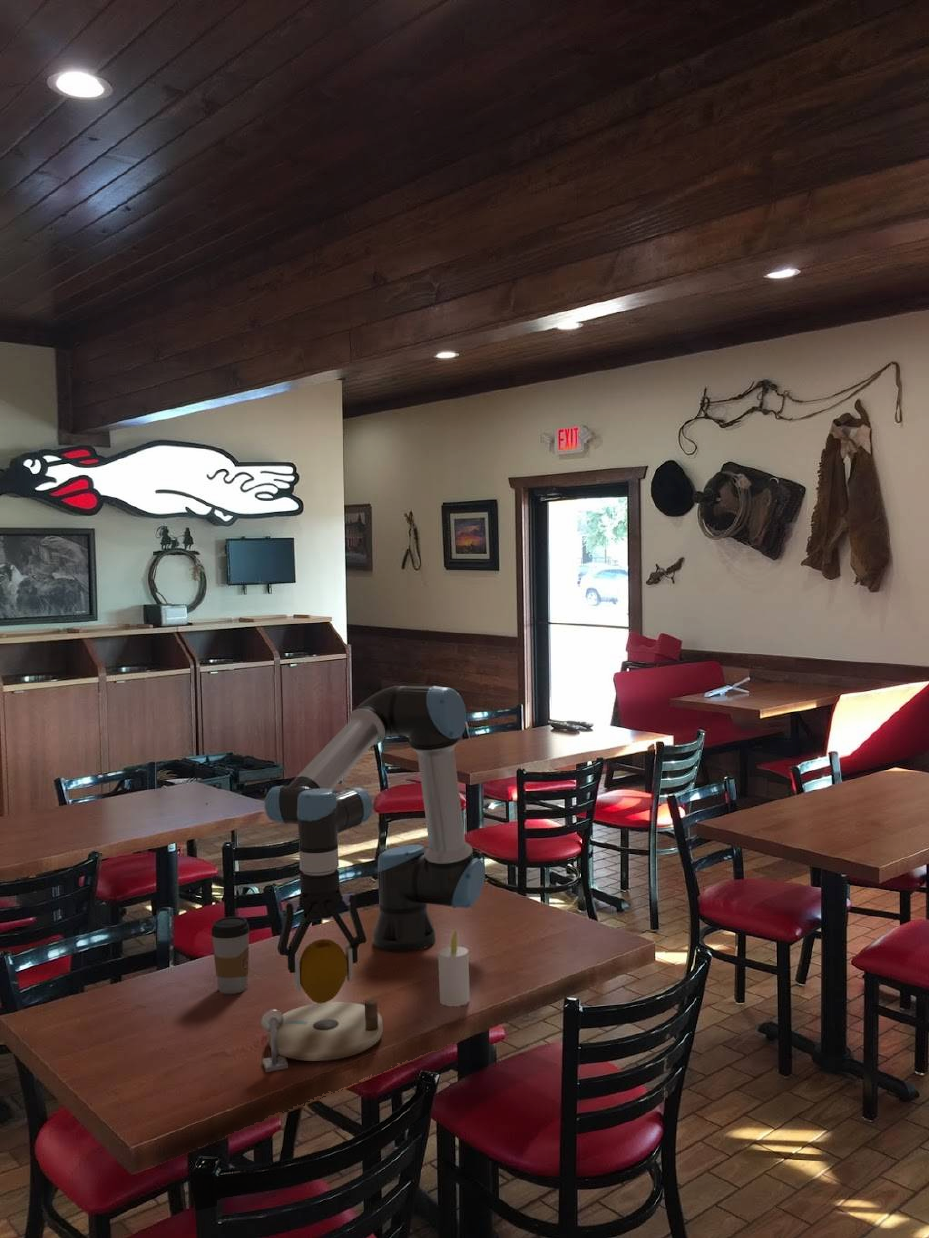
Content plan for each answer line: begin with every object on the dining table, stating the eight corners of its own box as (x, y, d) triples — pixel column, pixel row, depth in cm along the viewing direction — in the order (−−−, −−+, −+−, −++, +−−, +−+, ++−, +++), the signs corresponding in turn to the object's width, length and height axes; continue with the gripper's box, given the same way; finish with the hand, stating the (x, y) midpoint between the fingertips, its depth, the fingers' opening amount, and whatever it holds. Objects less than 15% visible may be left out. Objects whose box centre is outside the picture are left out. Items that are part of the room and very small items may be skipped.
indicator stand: (284, 1058, 199) (282, 1006, 198) (287, 1068, 195) (285, 1014, 194) (262, 1062, 197) (260, 1010, 197) (266, 1072, 194) (263, 1018, 193)
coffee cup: (243, 997, 229) (240, 928, 228) (207, 995, 231) (204, 927, 230) (258, 982, 237) (255, 916, 236) (223, 980, 239) (220, 915, 238)
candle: (447, 992, 227) (445, 923, 227) (474, 997, 225) (472, 927, 224) (433, 1003, 222) (431, 933, 221) (461, 1008, 219) (459, 937, 218)
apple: (353, 1005, 202) (351, 945, 202) (303, 1013, 200) (300, 951, 199) (344, 987, 212) (342, 929, 211) (296, 994, 209) (293, 935, 209)
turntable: (397, 1015, 214) (396, 981, 214) (359, 1065, 193) (358, 1027, 192) (296, 1007, 220) (295, 974, 219) (249, 1055, 198) (247, 1018, 198)
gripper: (370, 858, 212) (374, 968, 213) (258, 872, 205) (263, 985, 206) (380, 868, 205) (384, 981, 206) (264, 882, 198) (269, 1000, 199)
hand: (323, 983), depth 206 cm, fingers closed on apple, 10 cm apart
